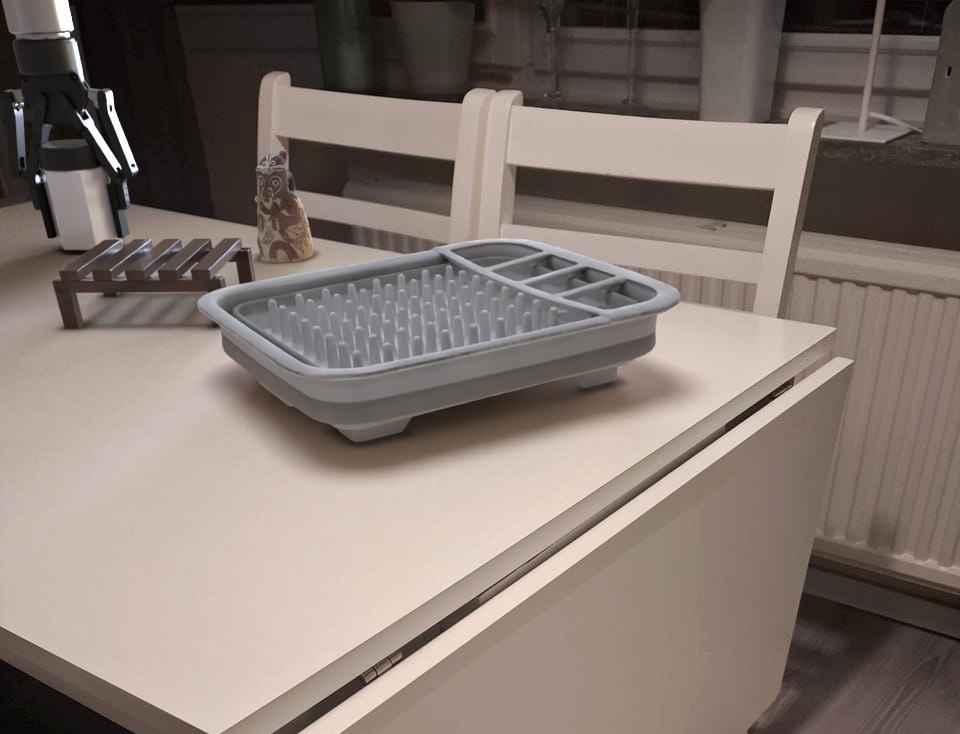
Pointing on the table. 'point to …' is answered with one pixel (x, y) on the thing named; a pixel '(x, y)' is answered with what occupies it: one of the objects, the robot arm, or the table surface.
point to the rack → (148, 270)
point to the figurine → (280, 214)
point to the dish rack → (436, 329)
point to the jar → (76, 193)
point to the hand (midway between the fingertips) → (89, 236)
